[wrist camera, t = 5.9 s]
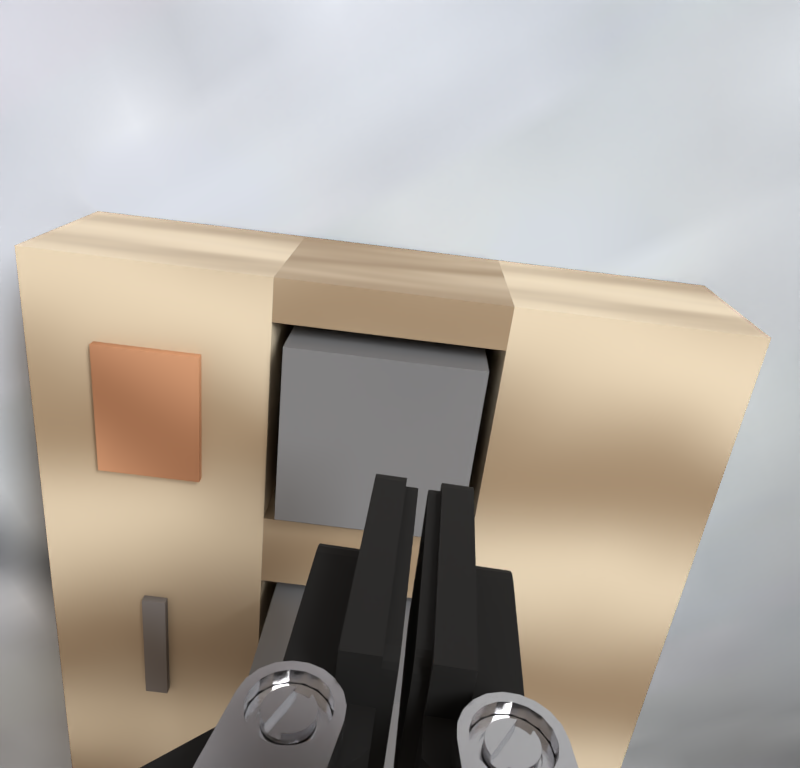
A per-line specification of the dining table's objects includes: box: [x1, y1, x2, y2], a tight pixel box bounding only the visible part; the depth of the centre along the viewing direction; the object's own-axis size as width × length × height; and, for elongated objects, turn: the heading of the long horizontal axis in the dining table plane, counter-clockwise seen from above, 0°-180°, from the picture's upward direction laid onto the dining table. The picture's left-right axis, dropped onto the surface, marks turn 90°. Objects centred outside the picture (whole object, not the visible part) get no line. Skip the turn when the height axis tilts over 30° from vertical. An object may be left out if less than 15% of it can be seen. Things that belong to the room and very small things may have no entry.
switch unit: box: [15, 211, 771, 768], centre depth 21 cm, size 21×16×4 cm
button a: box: [274, 325, 489, 537], centre depth 18 cm, size 4×4×4 cm
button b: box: [249, 582, 411, 768], centre depth 18 cm, size 4×4×4 cm
